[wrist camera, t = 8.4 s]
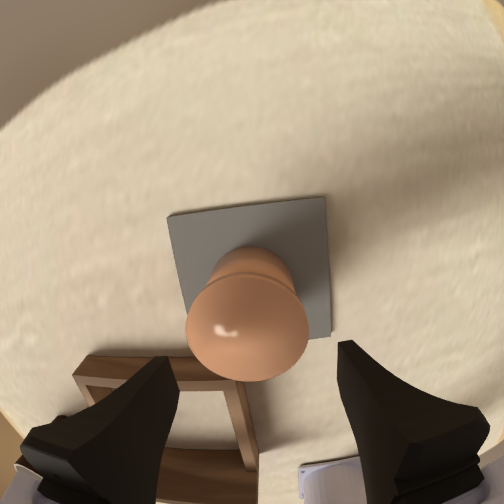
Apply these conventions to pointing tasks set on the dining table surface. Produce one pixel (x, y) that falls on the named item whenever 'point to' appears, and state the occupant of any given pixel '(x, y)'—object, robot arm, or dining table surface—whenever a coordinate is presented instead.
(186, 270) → the slate pad
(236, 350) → the terracotta pot
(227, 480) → the frame
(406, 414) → the robot arm
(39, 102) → the dining table surface
